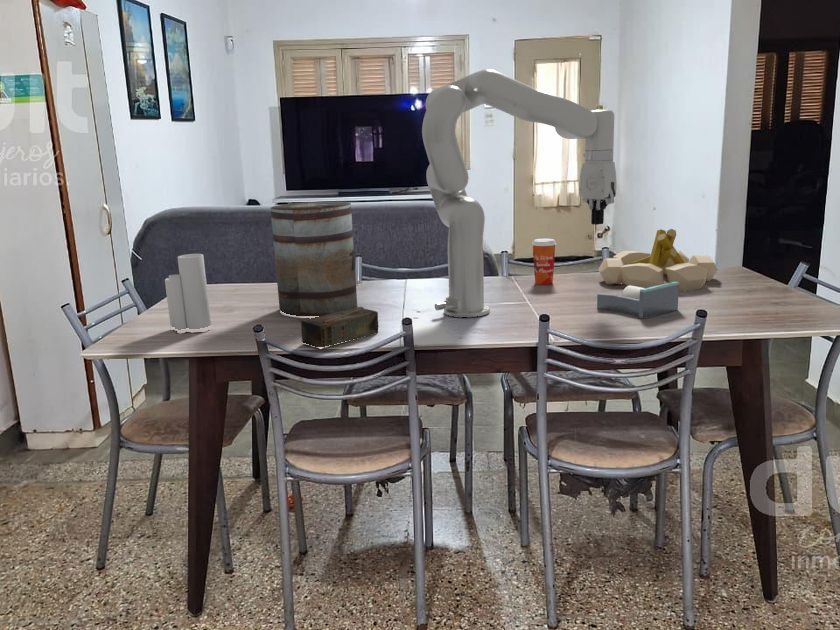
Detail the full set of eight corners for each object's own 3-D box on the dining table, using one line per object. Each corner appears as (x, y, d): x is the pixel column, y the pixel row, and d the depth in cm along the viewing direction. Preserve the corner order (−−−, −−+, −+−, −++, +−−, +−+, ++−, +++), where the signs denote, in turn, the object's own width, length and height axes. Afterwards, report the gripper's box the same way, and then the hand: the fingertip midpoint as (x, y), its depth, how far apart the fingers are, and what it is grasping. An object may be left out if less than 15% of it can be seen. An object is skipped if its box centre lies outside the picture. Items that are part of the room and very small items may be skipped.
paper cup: (529, 285, 230) (529, 241, 226) (534, 280, 237) (533, 238, 233) (554, 285, 227) (554, 241, 224) (557, 281, 234) (558, 238, 231)
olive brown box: (380, 333, 182) (379, 308, 180) (320, 352, 169) (318, 324, 167) (360, 328, 187) (358, 304, 186) (300, 346, 174) (298, 319, 173)
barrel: (369, 301, 217) (363, 201, 209) (338, 320, 196) (330, 209, 189) (301, 299, 224) (293, 201, 216) (265, 317, 203) (255, 210, 196)
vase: (215, 326, 195) (207, 253, 190) (205, 333, 188) (196, 258, 183) (175, 327, 196) (165, 254, 191) (163, 334, 189) (153, 259, 184)
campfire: (700, 297, 206) (703, 238, 202) (585, 288, 224) (586, 233, 220) (724, 275, 234) (727, 222, 230) (621, 268, 252) (622, 219, 248)
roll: (664, 314, 191) (668, 292, 190) (649, 312, 188) (654, 290, 187) (633, 307, 199) (637, 286, 199) (618, 306, 196) (623, 284, 195)
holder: (642, 319, 185) (643, 290, 183) (595, 308, 197) (596, 281, 196) (677, 310, 192) (679, 282, 190) (630, 300, 205) (631, 273, 203)
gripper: (569, 157, 201) (568, 223, 205) (610, 157, 188) (608, 227, 193) (588, 156, 205) (587, 220, 209) (630, 156, 192) (627, 225, 197)
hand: (597, 223), depth 201 cm, fingers closed
